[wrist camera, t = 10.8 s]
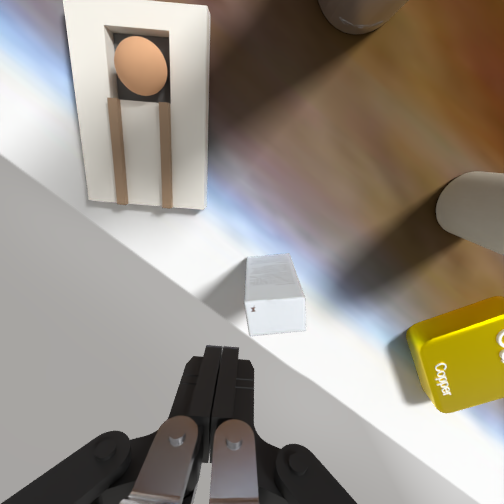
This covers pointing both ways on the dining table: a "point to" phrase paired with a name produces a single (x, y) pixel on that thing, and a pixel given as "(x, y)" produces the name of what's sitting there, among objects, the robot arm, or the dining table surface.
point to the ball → (140, 65)
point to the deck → (142, 102)
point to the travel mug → (474, 209)
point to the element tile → (461, 355)
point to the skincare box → (273, 296)
